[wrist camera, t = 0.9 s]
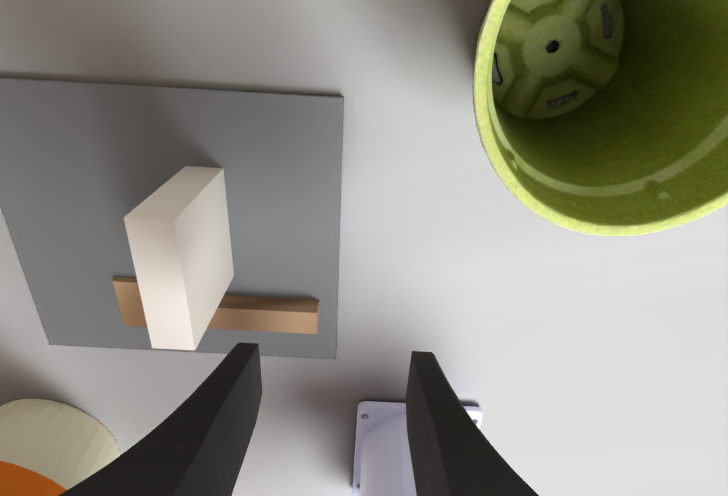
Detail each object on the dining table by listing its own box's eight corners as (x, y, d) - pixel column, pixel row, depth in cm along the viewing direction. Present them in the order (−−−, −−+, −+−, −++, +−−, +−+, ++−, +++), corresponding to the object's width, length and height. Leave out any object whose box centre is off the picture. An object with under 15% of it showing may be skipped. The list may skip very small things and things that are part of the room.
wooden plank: (319, 288, 24) (317, 300, 23) (319, 331, 26) (316, 345, 25) (116, 277, 24) (104, 289, 23) (127, 321, 26) (117, 335, 25)
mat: (336, 354, 27) (335, 359, 27) (53, 340, 27) (49, 344, 27) (343, 97, 20) (343, 98, 20) (-39, 75, 20) (-46, 76, 20)
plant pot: (475, 186, 22) (530, 280, 14) (400, -15, 18) (421, -34, 10) (676, 102, 20) (865, 160, 12) (640, -144, 16) (887, -285, 8)
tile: (234, 275, 24) (195, 350, 19) (199, 273, 24) (151, 348, 19) (223, 168, 21) (174, 220, 16) (184, 166, 21) (122, 217, 16)
